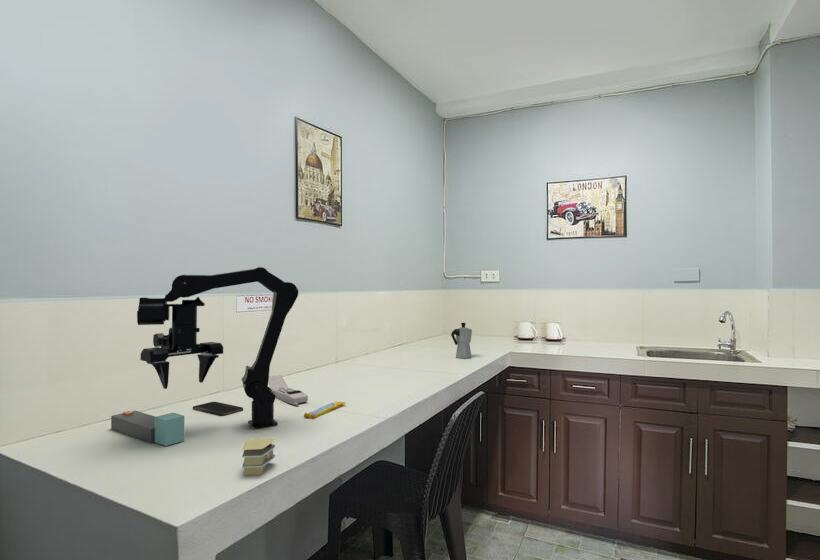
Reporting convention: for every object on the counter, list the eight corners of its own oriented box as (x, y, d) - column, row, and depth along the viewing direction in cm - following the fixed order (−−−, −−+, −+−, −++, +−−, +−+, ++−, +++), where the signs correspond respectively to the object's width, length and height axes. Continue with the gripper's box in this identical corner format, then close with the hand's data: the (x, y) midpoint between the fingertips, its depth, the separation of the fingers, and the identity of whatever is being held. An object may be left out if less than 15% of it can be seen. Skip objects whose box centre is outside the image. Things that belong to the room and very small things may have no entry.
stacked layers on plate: (275, 479, 89) (275, 451, 89) (228, 481, 89) (228, 452, 89) (285, 460, 99) (285, 434, 99) (242, 461, 98) (242, 436, 99)
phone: (222, 414, 131) (191, 406, 139) (222, 417, 131) (191, 410, 139) (245, 407, 138) (214, 401, 146) (245, 411, 138) (214, 404, 146)
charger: (184, 440, 110) (184, 415, 110) (165, 446, 107) (165, 420, 107) (167, 434, 114) (167, 410, 115) (148, 440, 111) (149, 415, 111)
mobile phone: (280, 374, 164) (311, 385, 145) (280, 390, 164) (312, 404, 145) (263, 376, 160) (294, 388, 141) (264, 393, 160) (294, 408, 141)
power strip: (175, 436, 114) (175, 420, 114) (150, 443, 109) (150, 426, 109) (135, 423, 125) (135, 408, 125) (111, 429, 120) (111, 413, 120)
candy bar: (313, 421, 128) (313, 414, 128) (301, 419, 129) (301, 413, 129) (346, 407, 143) (346, 401, 143) (335, 405, 145) (335, 399, 145)
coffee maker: (465, 355, 243) (465, 321, 243) (478, 357, 236) (478, 322, 237) (445, 358, 234) (445, 323, 234) (458, 360, 227) (457, 324, 227)
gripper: (202, 320, 129) (201, 375, 128) (130, 324, 114) (129, 387, 113) (224, 322, 122) (224, 381, 122) (152, 327, 107) (151, 394, 107)
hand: (183, 385), depth 116 cm, fingers open, 9 cm apart
